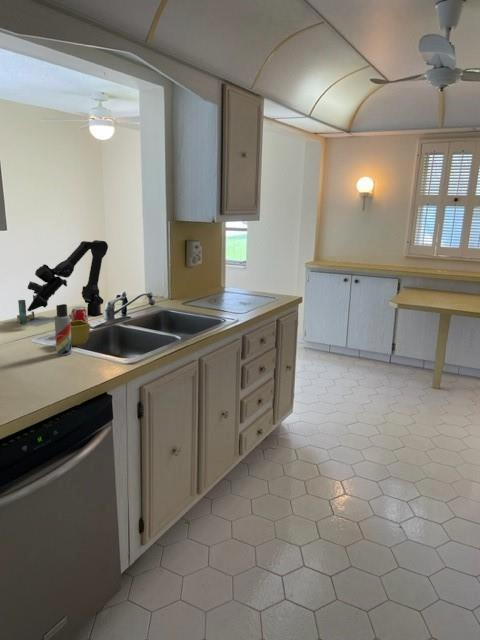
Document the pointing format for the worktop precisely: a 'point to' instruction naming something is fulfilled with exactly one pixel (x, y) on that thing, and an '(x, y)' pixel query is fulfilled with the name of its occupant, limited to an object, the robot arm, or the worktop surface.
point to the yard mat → (40, 321)
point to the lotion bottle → (63, 331)
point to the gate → (23, 312)
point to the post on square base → (34, 317)
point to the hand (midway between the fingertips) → (27, 310)
